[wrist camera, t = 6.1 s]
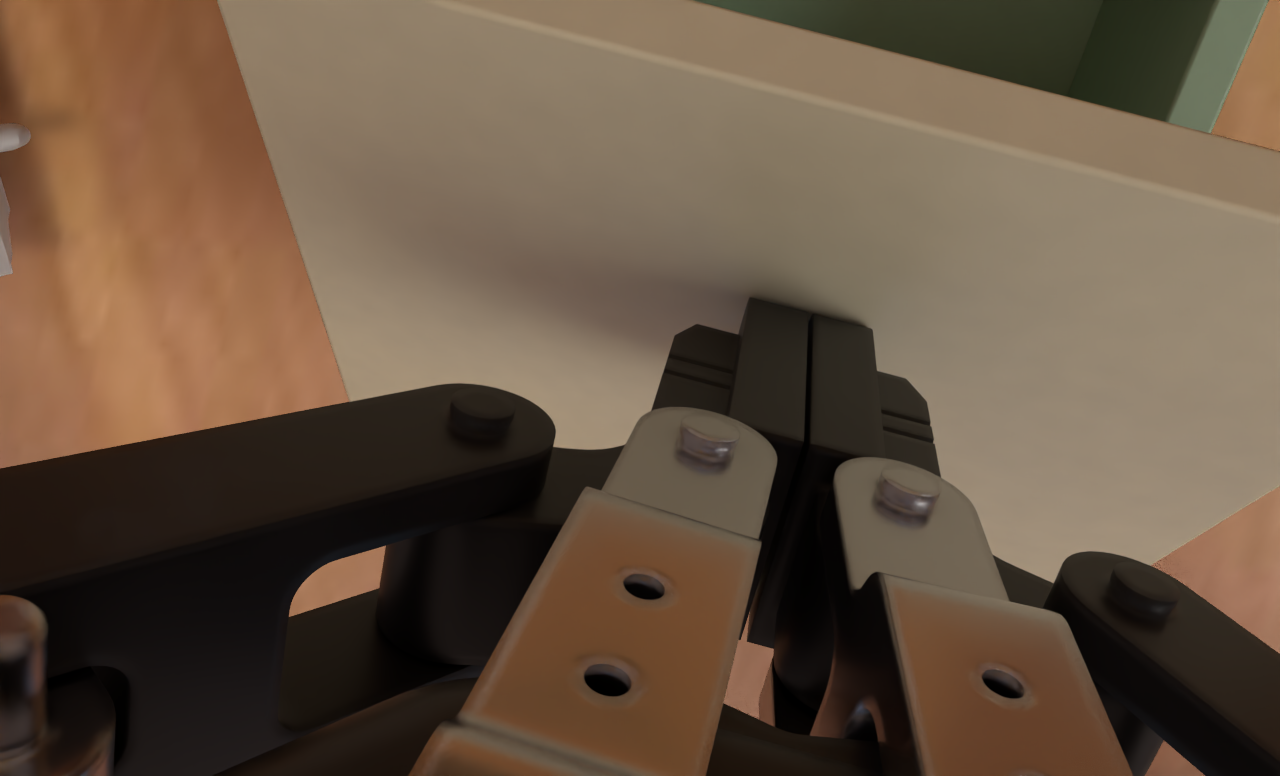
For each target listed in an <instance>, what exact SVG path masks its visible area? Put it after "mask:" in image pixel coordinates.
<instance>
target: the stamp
mask: <svg viewBox="0 0 1280 776" xmlns="http://www.w3.org/2000/svg"><path fill="white" fill-rule="evenodd" d="M30 138H31V133H30V132H29V130H28V129H27V128H26V127H25V126H23V125H21V124H16V123H6V124H0V152H5V151H12V150H15V149H17V148H20V147H22V146H24V145H26V144H27V143H28V142H29V140H30ZM9 213H10V207H9V204H8V201H7V197H6V194H5V190H4V187H3V184H2V180H1V177H0V277H1V276H4V275H7V274H13V271H12V265H11V260H12V247H11V239H10V231H9V223H8V218H9Z"/></svg>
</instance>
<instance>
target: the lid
mask: <svg viewBox="0 0 1280 776" xmlns="http://www.w3.org/2000/svg"><path fill="white" fill-rule="evenodd" d="M217 2H218V5H219V8H220V11H221V14H222V17H223V20H224V23H225V26H226V29H227V32H228V35H229V38H230V41H231V44H232V47H233V50H234V53H235V56H236V59H237V62H238V65H239V68H240V71H241V74H242V77H243V80H244V83H245V87H246V90H247V93H248V96H249V99H250V102H251V105H252V108H253V111H254V114H255V117H256V120H257V123H258V126H259V129H260V132H261V135H262V138H263V141H264V144H265V147H266V150H267V153H268V156H269V159H270V162H271V165H272V168H273V171H274V174H275V177H276V180H277V184H278V187H279V190H280V193H281V196H282V199H283V202H284V205H285V208H286V211H287V214H288V217H289V220H290V223H291V226H292V229H293V232H294V235H295V238H296V241H297V244H298V247H299V250H300V253H301V256H302V259H303V262H304V265H305V268H306V271H307V274H308V277H309V281H310V284H311V287H312V290H313V293H314V296H315V299H316V302H317V305H318V308H319V311H320V314H321V317H322V320H323V323H324V326H325V329H326V332H327V335H328V338H329V341H330V344H331V347H332V350H333V353H334V356H335V359H336V362H337V365H338V368H339V371H340V374H341V378H342V381H343V384H344V387H345V390H346V393H347V396H348V399H349V402H351V401H356V400H362V399H367V398H372V397H377V396H382V395H388V394H393V393H398V392H403V391H409V390H414V389H419V388H424V387H430V386H435V385H442V384H453V383H464V384H477V385H484V386H489V387H494V388H498V389H502V390H505V391H509V392H511V393H514V394H516V395H519V396H521V397H523V398H525V399H527V400H529V401H531V402H533V403H534V404H536V405H537V406H539V407H540V408H541V409H542V410H544V411H545V412H546V413H547V414H548V415H549V417H550V418H551V419H552V421H553V423H554V425H555V429H556V435H555V440H554V445H553V447H559V448H570V449H585V450H594V449H607V448H614V447H618V446H622V445H625V444H626V442H627V440H628V438H629V436H630V435H631V433H632V431H633V429H634V427H635V425H636V423H637V421H638V420H639V419H640V417H641V416H643V415H644V414H646V413H647V412H650V411H651V410H652V406H653V403H654V400H655V397H656V394H657V390H658V387H659V384H660V381H661V378H662V374H663V372H664V368H665V365H666V362H667V358H668V355H669V352H670V349H671V346H672V342H673V339H674V336H675V335H676V334H678V333H680V332H682V331H684V330H686V329H688V328H690V327H692V326H694V325H695V324H700V325H704V326H707V327H711V328H715V329H719V330H723V331H726V332H730V333H734V334H738V333H739V329H740V326H741V322H742V319H743V315H744V312H745V309H746V305H747V302H748V299H749V297H751V298H755V299H759V300H763V301H767V302H770V303H774V304H778V305H782V306H786V307H790V308H793V309H797V310H801V311H805V312H808V322H809V320H810V317H811V315H812V314H817V315H821V316H825V317H828V318H832V319H836V320H840V321H844V322H848V323H851V324H855V325H859V326H863V327H867V328H871V329H872V330H873V337H874V346H875V356H876V366H877V371H880V372H883V373H887V374H891V375H895V376H899V377H902V378H906V379H907V380H908V381H909V382H910V383H911V384H912V386H913V387H914V388H915V389H916V390H917V391H918V392H919V393H920V394H921V395H922V397H923V398H924V399H925V400H926V401H927V405H928V410H929V416H930V421H931V423H930V426H931V427H932V432H933V437H934V441H933V444H935V448H936V453H937V458H938V464H939V469H940V474H941V478H943V479H944V480H946V481H947V482H949V483H950V484H952V485H953V486H955V487H956V488H957V489H959V490H960V491H961V492H962V493H963V494H964V495H965V496H966V497H967V498H968V499H969V500H970V501H971V503H972V504H973V505H974V507H975V509H976V511H977V514H978V517H979V519H980V522H981V525H982V527H983V530H984V533H985V536H986V538H987V541H988V544H989V547H990V549H991V552H992V554H993V555H994V556H996V557H998V558H1000V559H1001V560H1003V561H1005V562H1007V563H1010V564H1012V565H1014V566H1016V567H1018V568H1020V569H1023V570H1025V571H1027V572H1029V573H1032V574H1034V575H1036V576H1038V577H1041V578H1043V579H1045V580H1047V581H1050V582H1052V583H1054V581H1055V579H1056V577H1057V575H1058V572H1059V570H1060V568H1061V566H1062V563H1063V562H1064V561H1065V559H1066V558H1067V557H1069V556H1070V555H1072V554H1075V553H1079V552H1086V551H1097V552H1106V553H1112V554H1116V555H1121V556H1125V557H1128V558H1131V559H1134V560H1137V561H1140V562H1142V563H1145V564H1147V565H1152V564H1153V563H1155V562H1157V561H1158V560H1160V559H1162V558H1163V557H1165V556H1166V555H1168V554H1170V553H1171V552H1173V551H1175V550H1176V549H1178V548H1180V547H1181V546H1183V545H1184V544H1186V543H1188V542H1189V541H1191V540H1193V539H1194V538H1196V537H1197V536H1199V535H1201V534H1202V533H1204V532H1206V531H1207V530H1209V529H1210V528H1212V527H1214V526H1215V525H1217V524H1219V523H1220V522H1222V521H1223V520H1225V519H1227V518H1228V517H1230V516H1232V515H1233V514H1235V513H1236V512H1238V511H1240V510H1241V509H1243V508H1245V507H1246V506H1248V505H1250V504H1251V503H1253V502H1254V501H1256V500H1258V499H1259V498H1261V497H1263V496H1264V495H1266V494H1267V493H1269V492H1271V491H1272V490H1274V489H1276V488H1277V487H1279V486H1280V151H1277V150H1273V149H1269V148H1265V147H1261V146H1257V145H1253V144H1249V143H1245V142H1242V141H1238V140H1234V139H1230V138H1226V137H1222V136H1218V135H1214V134H1210V133H1207V132H1203V131H1199V130H1195V129H1191V128H1187V127H1183V126H1179V125H1175V124H1172V123H1168V122H1164V121H1160V120H1156V119H1152V118H1148V117H1144V116H1140V115H1137V114H1133V113H1129V112H1125V111H1121V110H1117V109H1113V108H1109V107H1105V106H1102V105H1098V104H1094V103H1090V102H1086V101H1082V100H1078V99H1074V98H1070V97H1067V96H1063V95H1059V94H1055V93H1051V92H1047V91H1043V90H1039V89H1035V88H1032V87H1028V86H1024V85H1020V84H1016V83H1012V82H1008V81H1004V80H1000V79H997V78H993V77H989V76H985V75H981V74H977V73H973V72H969V71H965V70H962V69H958V68H954V67H950V66H946V65H942V64H938V63H934V62H930V61H927V60H923V59H919V58H915V57H911V56H907V55H903V54H899V53H895V52H892V51H888V50H884V49H880V48H876V47H872V46H868V45H864V44H860V43H857V42H853V41H849V40H845V39H841V38H837V37H833V36H829V35H825V34H822V33H818V32H814V31H810V30H806V29H802V28H798V27H794V26H790V25H787V24H783V23H779V22H775V21H771V20H767V19H763V18H759V17H755V16H752V15H748V14H744V13H740V12H736V11H732V10H728V9H724V8H720V7H717V6H713V5H709V4H705V3H701V2H697V1H693V0H217Z"/></svg>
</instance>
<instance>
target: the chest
mask: <svg viewBox="0 0 1280 776" xmlns="http://www.w3.org/2000/svg"><path fill="white" fill-rule="evenodd" d="M693 1H697V2H701V3H705V4H709V5H713V6H717V7H720V8H724V9H728V10H732V11H736V12H740V13H744V14H748V15H752V16H755V17H759V18H763V19H767V20H771V21H775V22H779V23H783V24H787V25H790V26H794V27H798V28H802V29H806V30H810V31H814V32H818V33H822V34H825V35H829V36H833V37H837V38H841V39H845V40H849V41H853V42H857V43H860V44H864V45H868V46H872V47H876V48H880V49H884V50H888V51H892V52H895V53H899V54H903V55H907V56H911V57H915V58H919V59H923V60H927V61H930V62H934V63H938V64H942V65H946V66H950V67H954V68H958V69H962V70H965V71H969V72H973V73H977V74H981V75H985V76H989V77H993V78H997V79H1000V80H1004V81H1008V82H1012V83H1016V84H1020V85H1024V86H1028V87H1032V88H1035V89H1039V90H1043V91H1047V92H1051V93H1055V94H1059V95H1063V96H1067V97H1070V98H1074V99H1078V100H1082V101H1086V102H1090V103H1094V104H1098V105H1102V106H1105V107H1109V108H1113V109H1117V110H1121V111H1125V112H1129V113H1133V114H1137V115H1140V116H1144V117H1148V118H1152V119H1156V120H1160V121H1164V122H1168V123H1172V124H1175V125H1179V126H1183V127H1187V128H1191V129H1195V130H1199V131H1203V132H1207V133H1210V134H1211V131H1212V129H1213V127H1214V125H1215V122H1216V120H1217V118H1218V115H1219V113H1220V111H1221V109H1222V106H1223V104H1224V102H1225V99H1226V97H1227V95H1228V93H1229V90H1230V88H1231V86H1232V83H1233V81H1234V79H1235V77H1236V74H1237V72H1238V70H1239V67H1240V65H1241V63H1242V60H1243V58H1244V56H1245V54H1246V51H1247V49H1248V47H1249V44H1250V42H1251V40H1252V38H1253V35H1254V33H1255V31H1256V28H1257V26H1258V24H1259V22H1260V19H1261V17H1262V15H1263V12H1264V10H1265V8H1266V6H1267V3H1268V1H1269V0H693Z"/></svg>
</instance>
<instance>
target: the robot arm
mask: <svg viewBox="0 0 1280 776" xmlns="http://www.w3.org/2000/svg"><path fill="white" fill-rule="evenodd" d="M930 423H931V421H930V416H929V410H928V405H927V401H926V400H925V399H924V398H923V397H922V395H921V394H920V393H919V392H918V391H917V390H916V389H915V388H914V387H913V386H912V384H911V383H910V382H909V381H908V380H907V379H906V378H902V377H899V376H895V375H891V374H887V373H883V372H880V371H877V366H876V356H875V346H874V337H873V330H872V329H871V328H867V327H863V326H859V325H855V324H851V323H848V322H844V321H840V320H836V319H832V318H828V317H825V316H821V315H817V314H812V315H811V317H810V320H809V322H808V312H805V311H801V310H797V309H793V308H790V307H786V306H782V305H778V304H774V303H770V302H767V301H763V300H759V299H755V298H751V297H749V299H748V302H747V305H746V309H745V312H744V315H743V319H742V322H741V326H740V329H739V333H738V334H734V333H730V332H726V331H723V330H719V329H715V328H711V327H707V326H704V325H700V324H695V325H694V326H692V327H690V328H688V329H686V330H684V331H682V332H680V333H678V334H676V335H675V336H674V339H673V342H672V346H671V349H670V352H669V355H668V358H667V362H666V365H665V368H664V372H663V374H662V378H661V381H660V384H659V387H658V390H657V394H656V397H655V400H654V403H653V406H652V410H651V411H650V412H647V413H646V414H644V415H643V416H641V417H640V419H639V420H638V421H637V423H636V425H635V427H634V429H633V431H632V433H631V435H630V436H629V438H628V440H627V442H626V444H625V445H622V446H618V447H614V448H607V449H594V450H585V449H570V448H559V447H553V445H554V440H555V435H556V429H555V425H554V423H553V421H552V419H551V418H550V417H549V415H548V414H547V413H546V412H545V411H544V410H542V409H541V408H540V407H539V406H537V405H536V404H534V403H533V402H531V401H529V400H527V399H525V398H523V397H521V396H519V395H516V394H514V393H511V392H509V391H505V390H502V389H498V388H494V387H489V386H484V385H477V384H464V383H453V384H442V385H435V386H430V387H424V388H419V389H414V390H409V391H403V392H398V393H393V394H388V395H382V396H377V397H372V398H367V399H362V400H356V401H351V402H346V403H341V404H335V405H330V406H325V407H320V408H315V409H309V410H304V411H299V412H294V413H288V414H283V415H278V416H273V417H267V418H262V419H257V420H252V421H247V422H241V423H236V424H231V425H226V426H220V427H215V428H210V429H205V430H200V431H194V432H189V433H184V434H179V435H173V436H168V437H163V438H158V439H153V440H147V441H142V442H137V443H132V444H126V445H121V446H116V447H111V448H105V449H100V450H95V451H90V452H85V453H79V454H74V455H69V456H64V457H58V458H53V459H48V460H43V461H38V462H32V463H27V464H22V465H17V466H11V467H6V468H1V469H0V776H1145V774H1146V772H1147V771H1148V769H1149V767H1150V765H1151V763H1152V761H1153V759H1154V757H1155V756H1156V754H1157V752H1158V750H1159V748H1160V746H1161V744H1162V742H1163V741H1166V742H1167V743H1168V744H1169V745H1170V746H1171V747H1173V748H1174V749H1175V750H1176V751H1177V752H1178V753H1180V754H1181V755H1182V756H1183V757H1184V758H1185V759H1187V760H1188V761H1189V762H1190V763H1191V764H1192V765H1194V766H1195V767H1196V768H1197V769H1198V770H1199V771H1201V772H1202V773H1203V774H1204V775H1205V776H1280V654H1279V653H1278V652H1276V651H1275V650H1273V649H1272V648H1271V647H1269V646H1268V645H1267V644H1265V643H1264V642H1262V641H1261V640H1260V639H1258V638H1257V637H1256V636H1254V635H1253V634H1251V633H1250V632H1249V631H1247V630H1246V629H1245V628H1243V627H1242V626H1240V625H1239V624H1238V623H1236V622H1235V621H1234V620H1232V619H1231V618H1229V617H1228V616H1227V615H1225V614H1224V613H1223V612H1221V611H1220V610H1218V609H1217V608H1216V607H1214V606H1213V605H1212V604H1210V603H1209V602H1207V601H1206V600H1205V599H1203V598H1202V597H1200V596H1199V595H1198V594H1196V593H1195V592H1194V591H1192V590H1191V589H1189V588H1188V587H1187V586H1185V585H1184V584H1182V583H1181V582H1179V581H1178V580H1176V579H1175V578H1173V577H1171V576H1169V575H1168V574H1166V573H1164V572H1162V571H1160V570H1158V569H1156V568H1154V567H1152V566H1150V565H1147V564H1145V563H1142V562H1140V561H1137V560H1134V559H1131V558H1128V557H1125V556H1121V555H1116V554H1112V553H1106V552H1097V551H1086V552H1079V553H1075V554H1072V555H1070V556H1069V557H1067V558H1066V559H1065V561H1064V562H1063V563H1062V566H1061V568H1060V570H1059V572H1058V575H1057V577H1056V579H1055V581H1054V583H1052V582H1050V581H1047V580H1045V579H1043V578H1041V577H1038V576H1036V575H1034V574H1032V573H1029V572H1027V571H1025V570H1023V569H1020V568H1018V567H1016V566H1014V565H1012V564H1010V563H1007V562H1005V561H1003V560H1001V559H1000V558H998V557H996V556H994V555H993V554H992V552H991V549H990V547H989V544H988V541H987V538H986V536H985V533H984V530H983V527H982V525H981V522H980V519H979V517H978V514H977V511H976V509H975V507H974V505H973V504H972V503H971V501H970V500H969V499H968V498H967V497H966V496H965V495H964V494H963V493H962V492H961V491H960V490H959V489H957V488H956V487H955V486H953V485H952V484H950V483H949V482H947V481H946V480H944V479H943V478H941V474H940V469H939V464H938V458H937V453H936V448H935V444H933V441H934V437H933V432H932V427H931V426H930ZM382 546H386V549H385V555H384V562H383V568H382V575H381V581H380V588H379V589H376V590H372V591H369V592H366V593H363V594H360V595H357V596H354V597H351V598H348V599H344V600H341V601H338V602H335V603H332V604H329V605H326V606H323V607H319V608H316V609H313V610H310V611H307V612H304V613H301V614H298V615H295V616H291V617H289V610H290V605H291V602H292V599H293V597H294V595H295V593H296V592H297V590H298V588H299V587H300V586H301V584H302V583H303V582H304V581H305V580H306V579H307V578H308V577H309V576H310V575H311V574H312V573H313V572H314V571H316V570H317V569H319V568H320V567H322V566H324V565H325V564H327V563H329V562H332V561H335V560H338V559H341V558H345V557H348V556H351V555H355V554H358V553H362V552H365V551H369V550H372V549H375V548H379V547H382ZM749 612H750V615H749ZM748 615H749V625H748V635H747V642H751V643H754V644H758V645H762V646H765V647H769V648H773V649H774V656H773V659H772V662H771V665H770V667H769V670H768V673H767V676H766V679H765V682H764V685H763V688H762V691H761V694H760V697H759V719H756V718H754V717H752V716H750V715H748V714H746V713H743V712H741V711H739V710H737V709H735V708H733V707H730V706H728V705H726V704H724V703H723V702H724V698H725V693H726V689H727V685H728V681H729V677H730V673H731V669H732V664H733V660H734V656H735V652H736V648H737V644H738V640H741V637H742V633H743V630H744V627H745V624H746V621H747V618H748Z"/></svg>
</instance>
